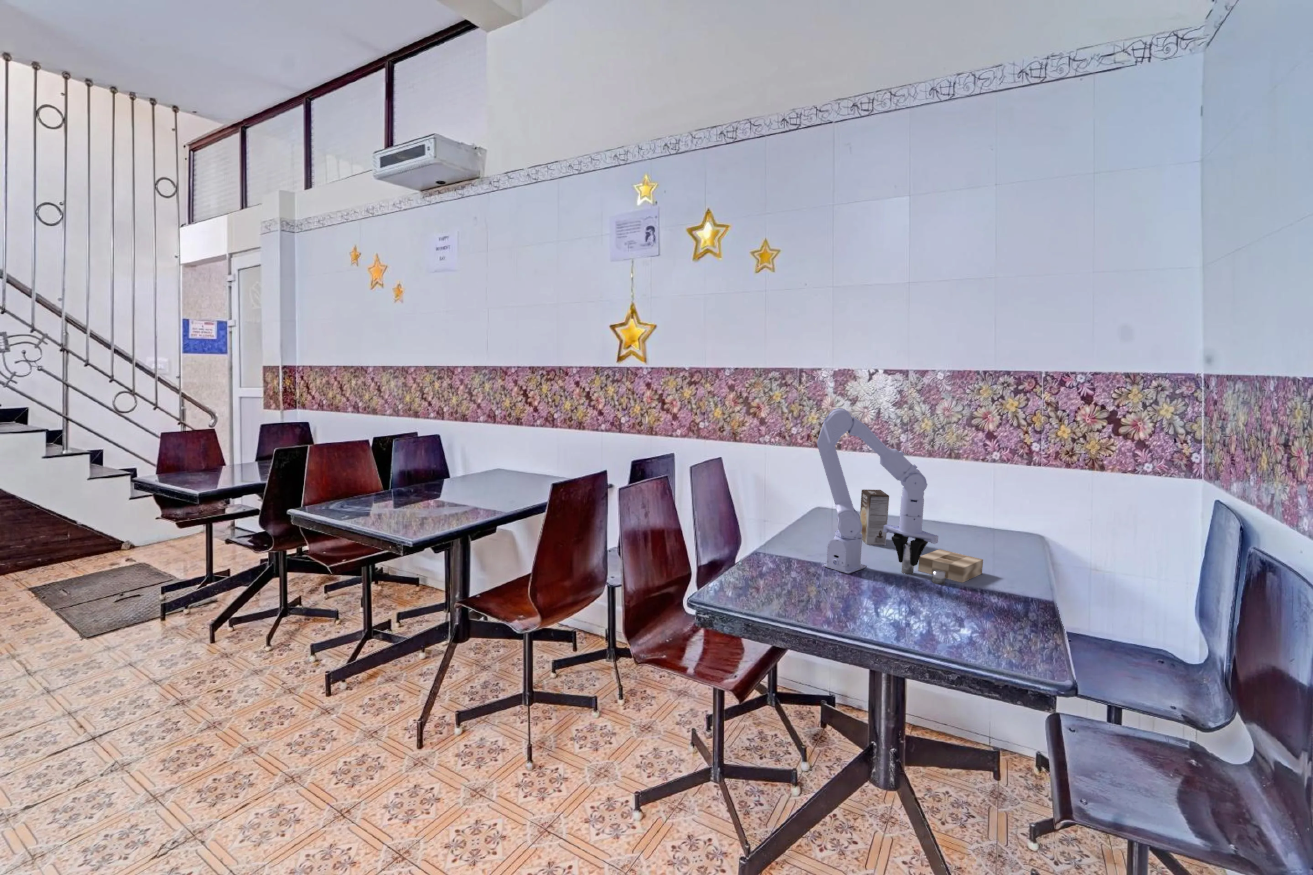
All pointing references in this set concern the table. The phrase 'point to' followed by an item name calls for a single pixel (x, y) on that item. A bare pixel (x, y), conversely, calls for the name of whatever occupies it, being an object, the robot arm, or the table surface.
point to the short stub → (938, 577)
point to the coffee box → (874, 516)
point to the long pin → (907, 559)
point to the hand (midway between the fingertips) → (908, 563)
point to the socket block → (951, 565)
